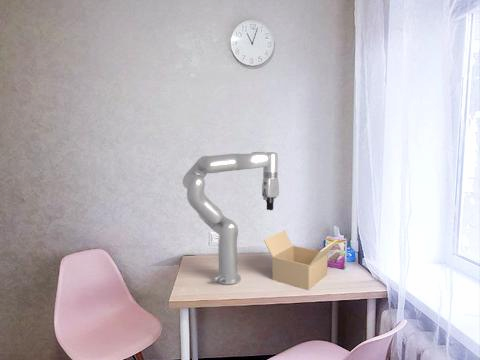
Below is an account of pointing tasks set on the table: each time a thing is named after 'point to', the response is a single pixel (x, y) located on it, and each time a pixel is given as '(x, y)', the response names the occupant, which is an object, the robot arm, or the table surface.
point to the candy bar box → (336, 252)
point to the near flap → (323, 252)
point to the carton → (299, 267)
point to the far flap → (278, 243)
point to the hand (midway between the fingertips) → (269, 209)
